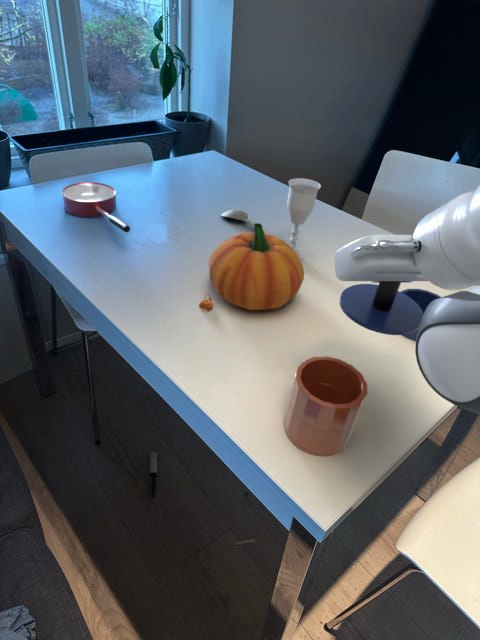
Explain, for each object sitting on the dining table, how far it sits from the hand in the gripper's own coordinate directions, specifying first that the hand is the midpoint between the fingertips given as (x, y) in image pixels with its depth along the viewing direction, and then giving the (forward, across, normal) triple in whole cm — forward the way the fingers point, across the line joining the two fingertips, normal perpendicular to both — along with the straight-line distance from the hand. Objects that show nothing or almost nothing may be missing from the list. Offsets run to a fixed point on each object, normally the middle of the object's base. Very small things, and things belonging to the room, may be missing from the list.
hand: (389, 276), depth 59 cm
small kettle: (+33, -20, +2) cm, 39 cm away
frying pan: (+59, -41, +28) cm, 77 cm away
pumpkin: (+37, -10, +5) cm, 38 cm away
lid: (+3, 0, -4) cm, 5 cm away
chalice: (+47, +2, +16) cm, 49 cm away
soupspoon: (+57, -5, +26) cm, 63 cm away
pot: (+11, -8, -20) cm, 24 cm away
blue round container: (+28, +21, -4) cm, 35 cm away
